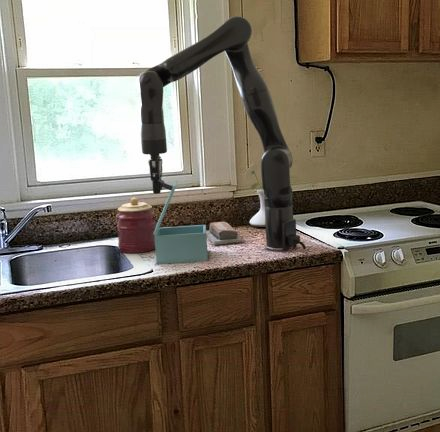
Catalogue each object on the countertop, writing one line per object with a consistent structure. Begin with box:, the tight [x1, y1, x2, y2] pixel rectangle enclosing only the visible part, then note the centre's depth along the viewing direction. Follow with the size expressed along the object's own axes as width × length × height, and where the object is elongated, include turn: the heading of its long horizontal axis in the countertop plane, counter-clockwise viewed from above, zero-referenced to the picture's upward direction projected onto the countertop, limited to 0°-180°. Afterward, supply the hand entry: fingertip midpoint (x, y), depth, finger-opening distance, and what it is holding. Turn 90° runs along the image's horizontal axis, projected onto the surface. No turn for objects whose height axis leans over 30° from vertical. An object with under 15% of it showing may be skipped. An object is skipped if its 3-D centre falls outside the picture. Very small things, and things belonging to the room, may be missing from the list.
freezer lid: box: [153, 179, 179, 235], centre depth 200 cm, size 16×13×5 cm
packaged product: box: [206, 221, 243, 246], centre depth 226 cm, size 18×5×10 cm
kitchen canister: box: [115, 197, 157, 254], centre depth 216 cm, size 13×13×18 cm
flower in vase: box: [243, 161, 266, 228], centre depth 243 cm, size 13×11×25 cm
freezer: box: [154, 224, 208, 265], centre depth 203 cm, size 16×13×9 cm
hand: (157, 191), depth 199 cm, fingers open, 6 cm apart
